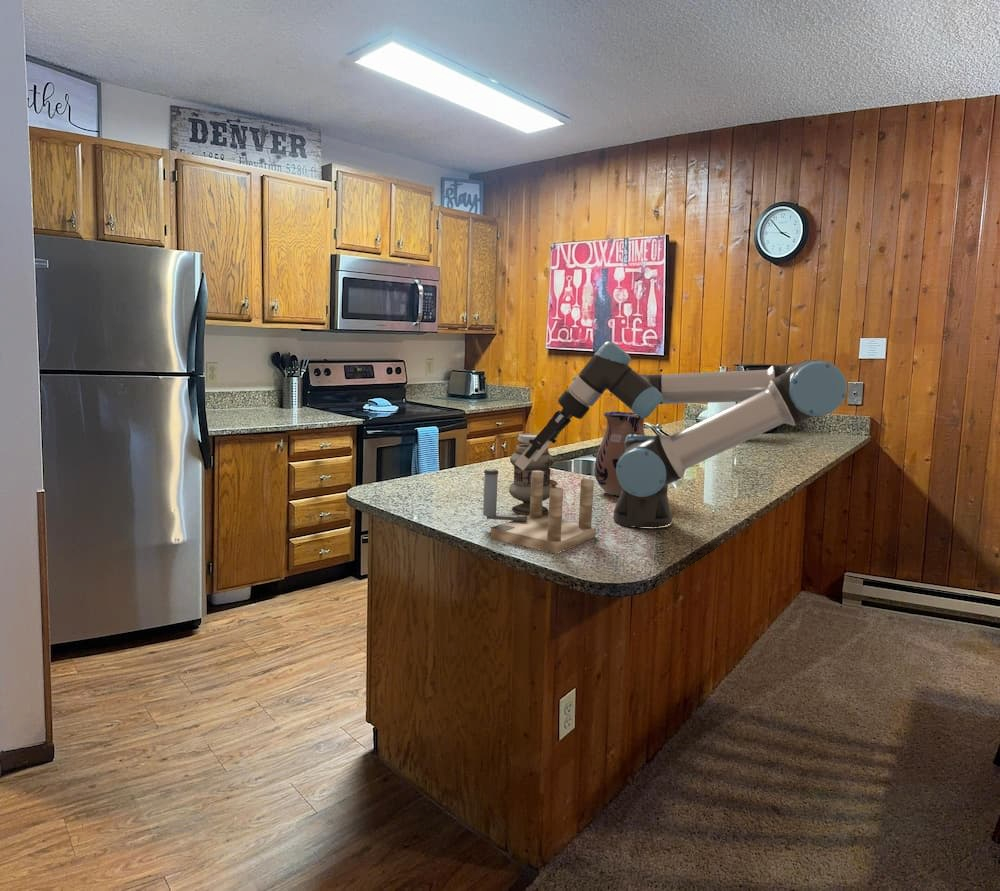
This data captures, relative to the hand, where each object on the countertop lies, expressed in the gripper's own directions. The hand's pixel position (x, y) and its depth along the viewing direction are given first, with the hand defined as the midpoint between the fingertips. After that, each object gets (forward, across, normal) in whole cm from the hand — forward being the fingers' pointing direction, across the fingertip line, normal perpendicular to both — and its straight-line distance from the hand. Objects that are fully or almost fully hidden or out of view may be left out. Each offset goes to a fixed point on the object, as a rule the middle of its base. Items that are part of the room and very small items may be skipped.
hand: (525, 462), depth 179 cm
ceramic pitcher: (+1, -46, +25) cm, 53 cm away
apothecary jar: (+13, -13, +8) cm, 20 cm away
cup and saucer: (+16, -44, +5) cm, 47 cm away
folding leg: (+12, +9, +6) cm, 16 cm away
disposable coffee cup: (+22, -74, -3) cm, 77 cm away
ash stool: (+8, +12, +16) cm, 21 cm away
